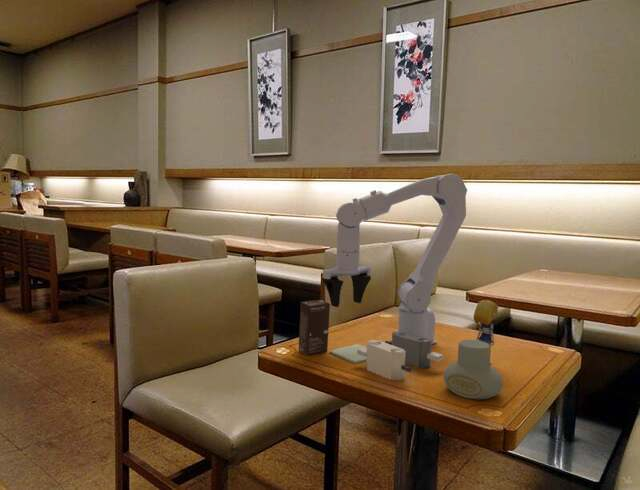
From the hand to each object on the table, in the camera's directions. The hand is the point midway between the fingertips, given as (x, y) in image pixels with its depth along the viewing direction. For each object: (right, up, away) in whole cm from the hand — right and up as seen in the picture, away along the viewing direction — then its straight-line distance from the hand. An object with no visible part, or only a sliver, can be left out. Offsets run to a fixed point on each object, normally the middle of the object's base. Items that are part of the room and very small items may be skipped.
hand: (346, 304), depth 122 cm
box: (-8, -11, -6) cm, 15 cm away
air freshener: (+23, -14, -29) cm, 39 cm away
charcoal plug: (+14, -12, -12) cm, 22 cm away
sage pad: (+2, -11, -8) cm, 14 cm away
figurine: (+30, -12, -13) cm, 35 cm away
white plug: (+7, -12, -20) cm, 24 cm away
